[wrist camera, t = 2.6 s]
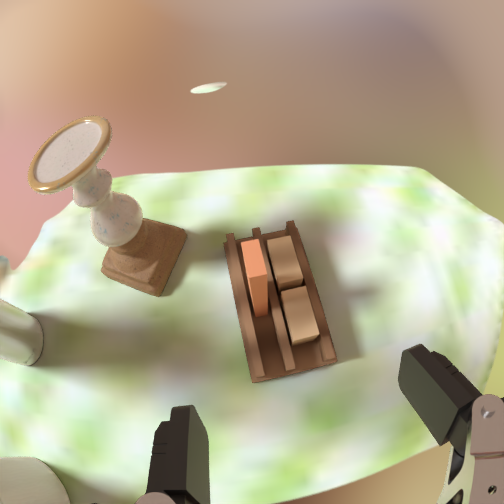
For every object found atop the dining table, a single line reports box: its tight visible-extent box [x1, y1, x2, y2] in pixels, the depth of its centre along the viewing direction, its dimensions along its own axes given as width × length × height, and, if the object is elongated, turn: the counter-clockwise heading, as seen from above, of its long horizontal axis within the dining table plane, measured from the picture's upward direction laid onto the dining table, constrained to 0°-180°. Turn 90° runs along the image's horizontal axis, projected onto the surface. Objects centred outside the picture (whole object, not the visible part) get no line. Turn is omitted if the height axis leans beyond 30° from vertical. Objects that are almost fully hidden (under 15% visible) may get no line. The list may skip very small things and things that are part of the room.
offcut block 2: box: [280, 286, 319, 346], centre depth 35 cm, size 6×3×4 cm, turn 12°
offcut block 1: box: [267, 236, 303, 295], centre depth 38 cm, size 6×3×4 cm, turn 12°
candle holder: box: [28, 116, 187, 297], centre depth 33 cm, size 11×11×24 cm
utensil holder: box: [0, 457, 70, 504], centre depth 17 cm, size 15×15×18 cm
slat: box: [241, 239, 268, 317], centre depth 32 cm, size 4×2×14 cm, turn 12°
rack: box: [224, 221, 337, 383], centre depth 37 cm, size 20×11×4 cm, turn 12°
